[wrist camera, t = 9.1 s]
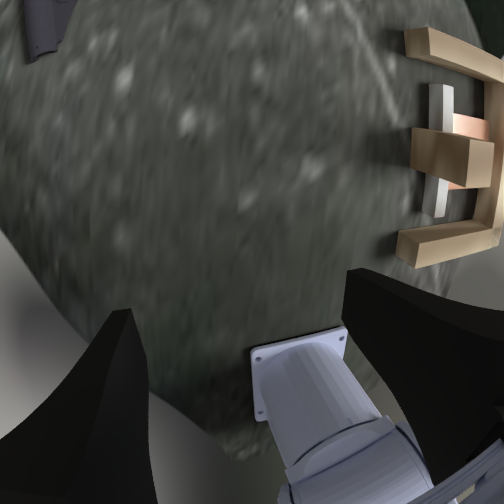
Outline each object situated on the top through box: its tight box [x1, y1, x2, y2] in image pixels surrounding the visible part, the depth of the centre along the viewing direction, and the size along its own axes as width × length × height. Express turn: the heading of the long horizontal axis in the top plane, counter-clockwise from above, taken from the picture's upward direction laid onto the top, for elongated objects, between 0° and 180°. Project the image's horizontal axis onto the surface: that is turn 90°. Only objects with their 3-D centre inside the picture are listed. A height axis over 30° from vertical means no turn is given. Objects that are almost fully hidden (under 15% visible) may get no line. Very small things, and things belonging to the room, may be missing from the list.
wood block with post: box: [410, 84, 495, 218], centre depth 18 cm, size 10×3×6 cm, turn 3°
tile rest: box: [395, 27, 504, 269], centre depth 20 cm, size 17×12×2 cm
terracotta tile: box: [448, 113, 489, 189], centre depth 21 cm, size 6×6×2 cm
